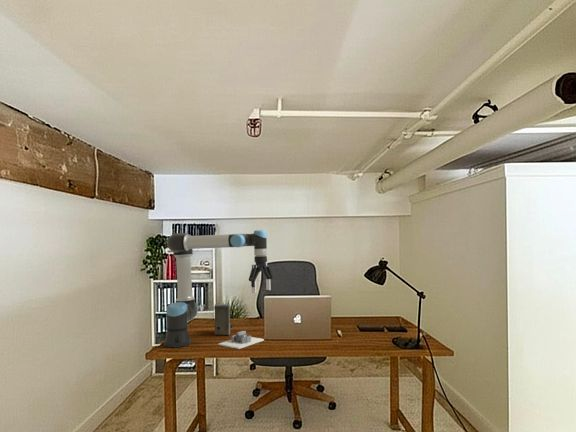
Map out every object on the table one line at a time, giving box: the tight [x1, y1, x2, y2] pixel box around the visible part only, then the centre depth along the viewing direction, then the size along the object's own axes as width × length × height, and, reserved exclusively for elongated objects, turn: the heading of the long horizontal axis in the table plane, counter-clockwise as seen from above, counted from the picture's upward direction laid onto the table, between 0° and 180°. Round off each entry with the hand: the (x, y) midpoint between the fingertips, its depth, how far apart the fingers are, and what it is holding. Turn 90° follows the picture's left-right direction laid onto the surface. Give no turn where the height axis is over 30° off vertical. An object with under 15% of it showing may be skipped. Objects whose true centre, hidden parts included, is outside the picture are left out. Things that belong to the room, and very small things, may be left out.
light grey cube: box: [235, 330, 248, 343], centre depth 252 cm, size 6×6×6 cm
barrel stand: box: [217, 334, 265, 350], centre depth 252 cm, size 22×16×4 cm
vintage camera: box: [213, 303, 234, 336], centre depth 279 cm, size 10×16×20 cm, turn 174°
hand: (261, 291), depth 260 cm, fingers open, 13 cm apart
